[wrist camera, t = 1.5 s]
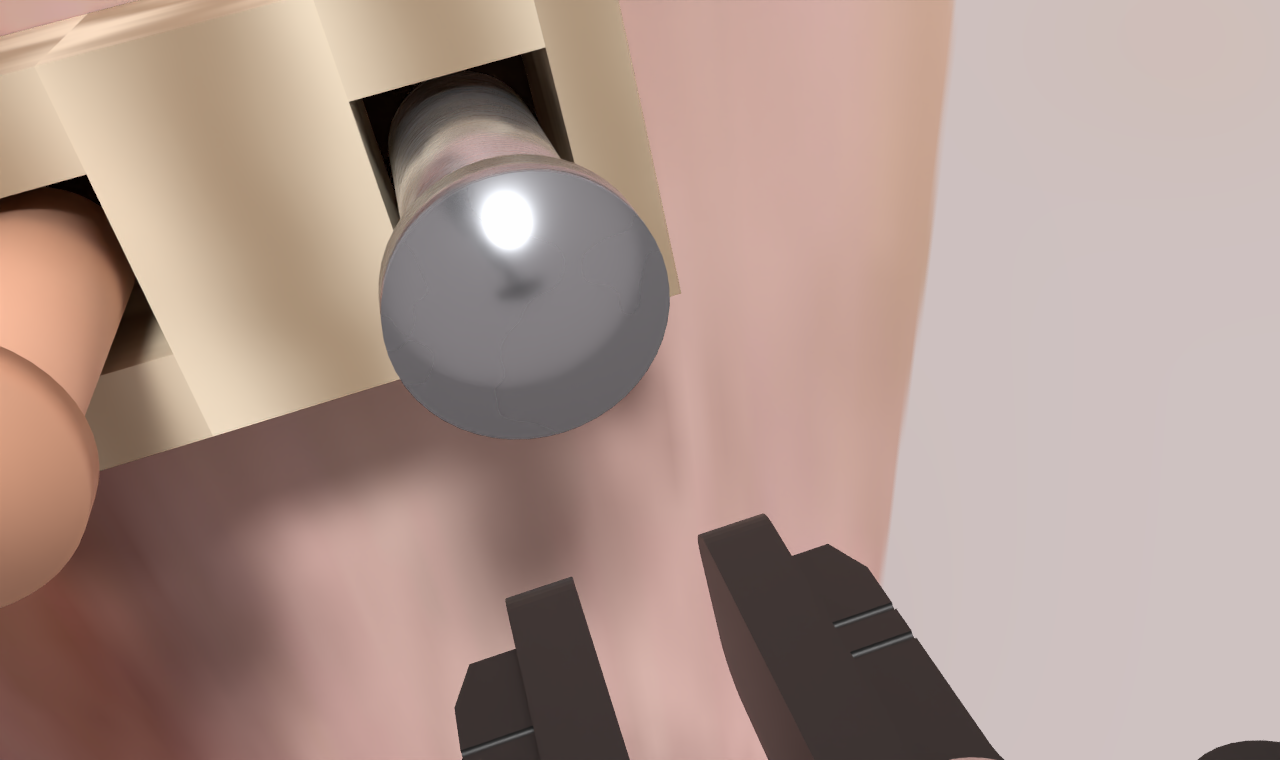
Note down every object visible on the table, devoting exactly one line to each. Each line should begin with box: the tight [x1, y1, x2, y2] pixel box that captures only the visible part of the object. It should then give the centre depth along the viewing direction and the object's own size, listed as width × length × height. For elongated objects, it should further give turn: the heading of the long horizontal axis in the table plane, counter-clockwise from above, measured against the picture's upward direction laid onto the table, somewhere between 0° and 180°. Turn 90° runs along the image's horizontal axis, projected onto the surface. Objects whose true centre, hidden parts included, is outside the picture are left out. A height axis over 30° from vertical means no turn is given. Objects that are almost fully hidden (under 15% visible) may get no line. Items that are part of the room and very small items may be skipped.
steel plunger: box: [378, 71, 670, 439], centre depth 23 cm, size 5×5×10 cm
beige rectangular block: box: [0, 0, 681, 471], centre depth 28 cm, size 18×9×6 cm, turn 102°
